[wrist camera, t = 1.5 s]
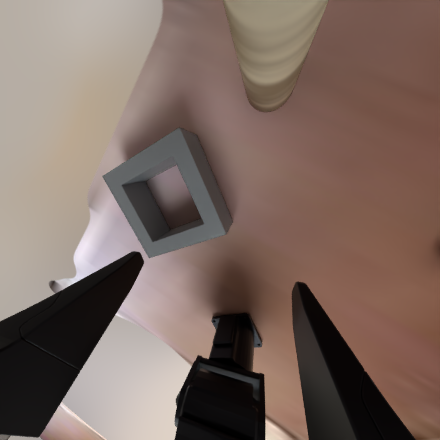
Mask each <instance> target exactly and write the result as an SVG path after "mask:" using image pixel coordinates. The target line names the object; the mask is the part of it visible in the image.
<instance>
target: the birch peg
mask: <svg viewBox="0 0 440 440" xmlns="http://www.w3.org/2000/svg"><path fill="white" fill-rule="evenodd" d="M223 3H224V7H225V11H226V15H227V19H228V23H229V27H230V31H231V34H232V38H233V42H234V46H235V50H236V54H237V58H238V62H239V66H240V70H241V74H242V78H243V82H244V86H245V90H246V94H247V98H248V100H249V102H250V104H251V105H252V106H253V107H254V108H255V109H256V110H258V111H261V112H271V111H274V110H276V109H278V108H280V107H281V106H282V105H283V104H285V103H286V101H287V100H288V99H289V97H290V96H291V94H292V91H293V89H294V86H295V84H296V81H297V79H298V76H299V74H300V71H301V69H302V66H303V64H304V61H305V59H306V56H307V53H308V51H309V48H310V46H311V43H312V41H313V38H314V36H315V33H316V31H317V28H318V26H319V23H320V21H321V18H322V16H323V13H324V11H325V8H326V6H327V3H328V0H223Z"/></svg>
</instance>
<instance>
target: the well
mask: <svg viewBox="0 0 440 440" xmlns="http://www.w3.org/2000/svg"><path fill="white" fill-rule="evenodd" d="M175 165H177V166H178V168H179V170H180V172H181V175H182V177H183V179H184V181H185V183H186V185H187V188H188V190H189V192H190V194H191V196H192V198H193V201H194V203H195V205H196V207H197V209H198V211H199V213H200V216H201V219H199V220H196V221H193V222H190V223H188V224H185V225H182V226H179V227H177V228H174V229H171V230H170V229H169V227H168V225H167V223H166V221H165V219H164V217H163V215H162V213H161V211H160V209H159V207H158V205H157V204H156V202H155V200H154V198H153V196H152V194H151V192H150V190H149V188H148V186H147V184H146V182H145V181H147V180H149V179H151V178H152V177H154V176H156V175H158V174H160V173H162V172H164V171H165V170H167V169H169V168H171V167H173V166H175ZM102 177H103V178H104V180H105V182H106V184H107V185H108V187H109V189H110V191H111V192H112V194H113V196H114V198H115V199H116V201H117V203H118V205H119V206H120V208H121V210H122V212H123V213H124V215H125V217H126V219H127V220H128V222H129V224H130V226H131V227H132V229H133V231H134V233H135V234H136V236H137V238H138V240H139V241H140V243H141V245H142V247H143V248H144V250H145V252H146V254H147V255H148V257H149V258H151V257H154V256H158V255H161V254H164V253H167V252H171V251H174V250H177V249H180V248H184V247H187V246H190V245H193V244H197V243H200V242H203V241H206V240H210V239H213V238H216V237H220V236H223V235H226V234H227V232H228V230H229V228H230V226H231V225H232V223H233V221H232V218H231V216H230V213H229V211H228V209H227V206H226V204H225V201H224V199H223V197H222V194H221V192H220V190H219V187H218V185H217V182H216V180H215V178H214V175H213V173H212V171H211V168H210V166H209V163H208V161H207V159H206V156H205V154H204V152H203V149H202V147H201V144H200V142H199V140H198V137H197V135H196V134H194V133H192V132H189V131H187V130H184V129H182V128H180V127H179V128H178V129H176V130H174V131H173V132H171V133H170V134H168V135H167V136H165V137H163V138H162V139H160V140H159V141H157V142H156V143H154V144H152V145H151V146H149V147H148V148H146V149H145V150H143V151H141V152H140V153H138V154H137V155H135V156H133V157H132V158H130V159H129V160H127V161H126V162H124V163H122V164H121V165H119V166H118V167H116V168H115V169H113V170H111V171H110V172H108V173H107V174H105V175H104V176H102Z"/></svg>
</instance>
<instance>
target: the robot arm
mask: <svg viewBox="0 0 440 440" xmlns="http://www.w3.org/2000/svg"><path fill="white" fill-rule="evenodd" d="M143 264H144V260H143V258H142V256H141V253H140V252H135V251H133V252H131V253H129V254H127V255H125V256H124V257H122V258H120V259H118V260H116V261H114V262H113V263H111V264H109V265H107V266H105V267H103V268H102V269H100V270H98V271H96V272H94V273H92V274H91V275H89V276H87V277H85V278H83V279H81V280H80V281H78V282H76V283H74V284H72V285H70V286H69V287H67V288H65V289H63V290H61V291H59V292H58V293H56V294H54V295H52V296H50V297H48V298H46V299H45V300H43V301H41V302H39V303H37V304H35V305H33V306H31V307H29V308H27V309H25V310H23V311H21V312H19V313H17V314H15V315H13V316H10V317H8V318H6V319H4V320H2V321H0V440H8V438H9V437H10V436H25V437H39V436H40V435H41V433H42V432H43V431H44V429H45V427H46V426H47V424H48V423H49V421H50V419H51V418H52V416H53V415H54V413H55V411H56V410H57V408H58V406H59V405H60V403H61V402H62V400H63V398H64V397H65V395H66V394H67V392H68V390H69V389H70V387H71V385H72V384H73V382H74V381H75V379H76V377H77V376H78V374H79V373H80V370H81V369H82V368H83V366H84V364H85V363H86V361H87V359H88V358H89V356H90V355H91V353H92V351H93V350H94V348H95V347H96V345H97V343H98V342H99V340H100V338H101V337H102V335H103V334H104V332H105V330H106V329H107V327H108V326H109V324H110V322H111V321H112V319H113V317H114V316H115V314H116V313H117V311H118V309H119V308H120V306H121V305H122V303H123V301H124V300H125V298H126V297H127V295H128V293H129V292H130V290H131V288H132V286H133V285H134V283H135V281H136V279H137V277H138V275H139V273H140V271H141V269H142V267H143ZM292 317H293V331H294V338H295V345H296V352H297V359H298V366H299V373H300V380H301V387H302V394H303V401H304V408H305V415H306V422H307V429H308V436H309V440H416V439H415V438H414V437H413V436H412V434H411V433H410V432H409V430H408V429H407V428H406V426H405V425H404V424H403V422H402V421H401V420H400V418H399V417H398V416H397V414H396V413H395V412H394V410H393V409H392V408H391V406H390V405H389V404H388V402H387V401H386V399H385V398H384V397H383V395H382V394H381V392H380V391H379V390H378V388H377V387H376V385H375V384H374V382H373V381H372V379H371V378H370V377H369V375H368V374H367V372H365V371H364V368H363V366H362V365H361V363H360V362H359V361H358V359H357V358H356V356H355V355H354V353H353V352H352V350H351V349H350V347H349V346H348V345H347V343H346V342H345V340H344V339H343V337H342V336H341V334H340V333H339V331H338V330H337V328H336V327H335V326H334V324H333V323H332V321H331V320H330V318H329V317H328V315H327V314H326V312H325V311H324V309H323V308H322V307H321V305H320V304H319V302H318V301H317V299H316V298H315V296H314V295H313V293H312V292H311V291H310V289H309V288H308V286H307V285H306V284H305V283H303V282H296V283H295V285H294V288H293V290H292ZM212 323H213V325H214V327H215V329H216V332H215V336H214V339H213V346H212V349H211V353H210V356H209V359H207V358H203V357H202V356H199V355H198V356H197V358H196V360H195V361H194V363H193V365H192V368H191V369H190V372H189V374H188V376H187V378H186V380H185V382H184V385H183V386H182V388H181V391H180V392H179V394H178V396H177V398H176V405H177V410H176V415H175V426H176V427H177V431H176V436H175V440H265V387H264V374H262V373H260V374H259V373H255V372H253V355H254V347H262V341H261V339H260V337H259V335H258V332H257V330H256V328H255V326H254V324H253V322H252V319H251V317H250V315H249V314H247V313H244V314H235V315H226V316H217V317H213V318H212Z"/></svg>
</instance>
